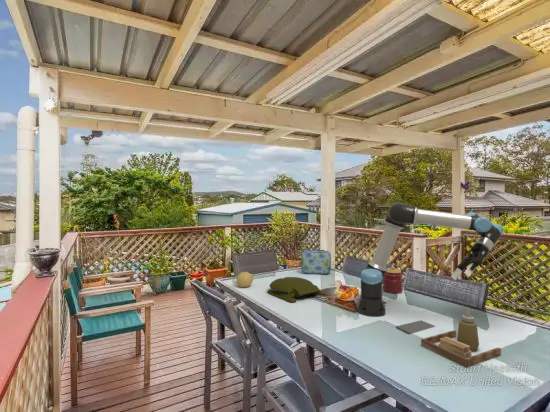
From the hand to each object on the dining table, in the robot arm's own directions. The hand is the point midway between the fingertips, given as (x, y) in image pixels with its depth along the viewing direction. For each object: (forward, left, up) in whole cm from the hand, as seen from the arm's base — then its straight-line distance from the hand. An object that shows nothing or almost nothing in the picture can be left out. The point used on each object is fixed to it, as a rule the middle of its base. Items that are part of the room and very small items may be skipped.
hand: (459, 276), depth 164 cm
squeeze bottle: (-9, -32, -24) cm, 41 cm away
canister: (-23, +55, -24) cm, 64 cm away
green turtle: (-91, +41, -25) cm, 102 cm away
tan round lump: (-129, +52, -24) cm, 141 cm away
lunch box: (-78, +102, -24) cm, 130 cm away
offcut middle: (-16, -37, -23) cm, 46 cm away
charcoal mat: (-21, -14, -24) cm, 35 cm away
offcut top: (-16, -37, -21) cm, 45 cm away
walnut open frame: (-13, -35, -24) cm, 44 cm away
